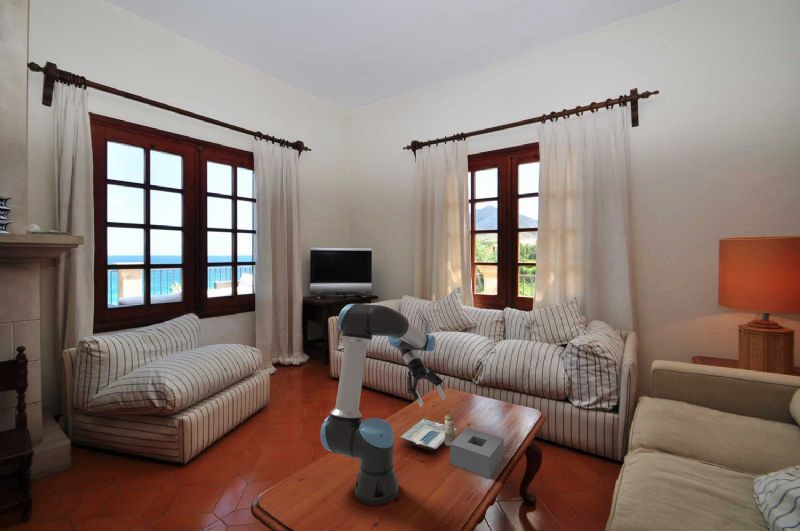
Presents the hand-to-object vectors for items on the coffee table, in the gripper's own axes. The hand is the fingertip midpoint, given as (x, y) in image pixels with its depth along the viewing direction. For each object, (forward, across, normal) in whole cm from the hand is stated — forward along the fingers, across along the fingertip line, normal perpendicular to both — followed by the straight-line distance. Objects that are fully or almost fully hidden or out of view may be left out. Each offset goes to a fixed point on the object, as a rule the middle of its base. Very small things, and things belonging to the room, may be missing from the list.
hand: (433, 401), depth 161 cm
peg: (+18, 0, -3) cm, 18 cm away
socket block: (+29, 0, +8) cm, 30 cm away
